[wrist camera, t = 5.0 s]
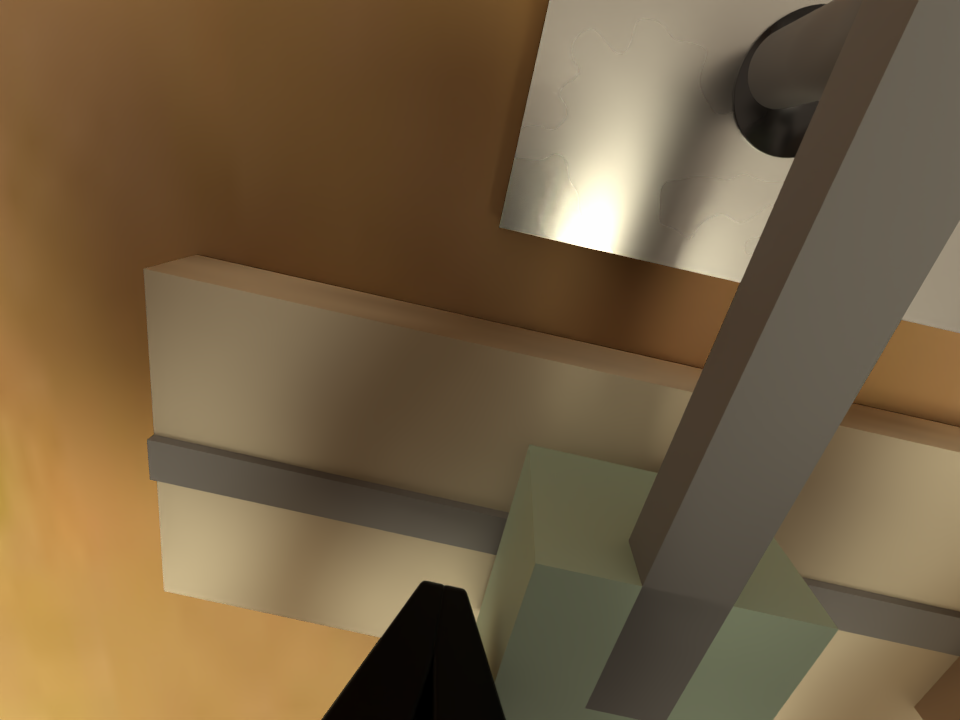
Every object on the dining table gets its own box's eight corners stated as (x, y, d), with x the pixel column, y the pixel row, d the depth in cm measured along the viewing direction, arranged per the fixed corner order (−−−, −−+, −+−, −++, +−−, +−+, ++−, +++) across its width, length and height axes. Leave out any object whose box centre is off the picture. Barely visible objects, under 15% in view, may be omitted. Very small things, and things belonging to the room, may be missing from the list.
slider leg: (946, 60, 6) (1321, -37, 3) (643, 652, 11) (691, 832, 8) (658, -8, 6) (785, -167, 3) (474, 616, 11) (459, 783, 8)
